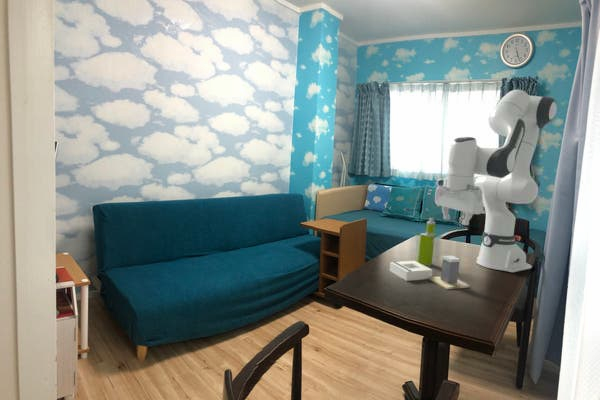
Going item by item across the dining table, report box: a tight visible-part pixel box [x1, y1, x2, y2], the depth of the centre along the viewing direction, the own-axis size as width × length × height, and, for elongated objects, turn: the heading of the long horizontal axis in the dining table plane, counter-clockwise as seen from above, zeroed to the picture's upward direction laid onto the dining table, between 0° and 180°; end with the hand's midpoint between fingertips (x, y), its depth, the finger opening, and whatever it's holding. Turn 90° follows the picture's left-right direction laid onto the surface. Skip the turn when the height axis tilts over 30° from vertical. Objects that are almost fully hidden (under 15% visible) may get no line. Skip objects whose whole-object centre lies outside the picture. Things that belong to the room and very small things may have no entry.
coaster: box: [428, 275, 471, 290], centre depth 139 cm, size 10×10×1 cm
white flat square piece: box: [389, 260, 433, 282], centre depth 146 cm, size 11×11×4 cm
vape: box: [417, 217, 436, 267], centre depth 160 cm, size 4×6×20 cm, turn 49°
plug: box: [440, 255, 461, 284], centre depth 138 cm, size 4×4×9 cm
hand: (455, 221), depth 136 cm, fingers open, 8 cm apart
